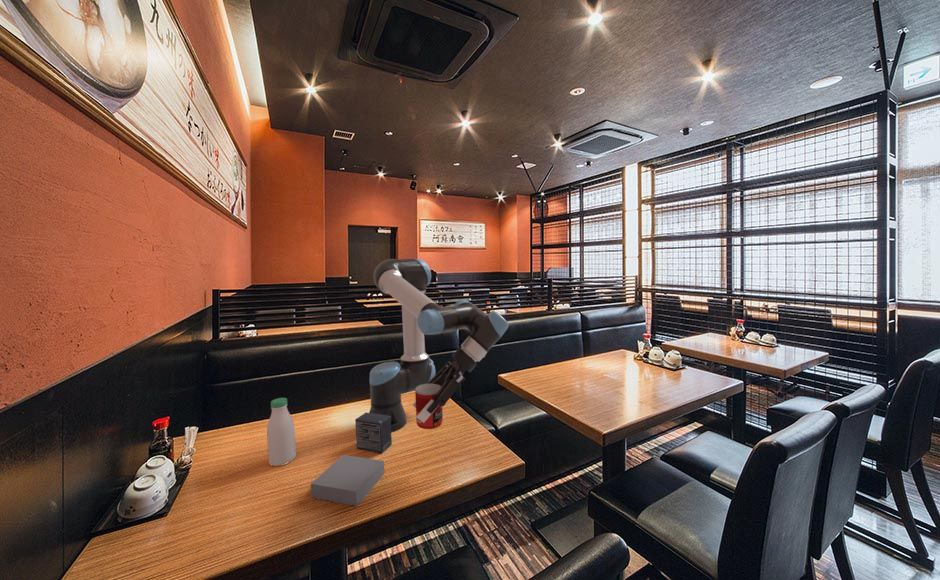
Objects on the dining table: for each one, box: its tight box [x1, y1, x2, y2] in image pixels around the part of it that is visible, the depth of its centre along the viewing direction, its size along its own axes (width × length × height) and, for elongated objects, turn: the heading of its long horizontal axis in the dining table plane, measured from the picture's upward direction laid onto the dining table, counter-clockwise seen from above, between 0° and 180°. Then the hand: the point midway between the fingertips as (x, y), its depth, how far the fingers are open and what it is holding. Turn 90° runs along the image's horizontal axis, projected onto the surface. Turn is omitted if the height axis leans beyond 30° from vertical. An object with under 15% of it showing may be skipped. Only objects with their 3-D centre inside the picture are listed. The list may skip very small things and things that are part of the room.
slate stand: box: [310, 454, 385, 507], centre depth 95 cm, size 14×14×4 cm
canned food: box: [414, 384, 444, 430], centre depth 100 cm, size 8×8×11 cm
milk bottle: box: [266, 397, 297, 466], centre depth 108 cm, size 8×8×20 cm
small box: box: [355, 412, 393, 454], centre depth 115 cm, size 11×6×10 cm, turn 71°
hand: (417, 413), depth 99 cm, fingers closed on canned food, 8 cm apart
